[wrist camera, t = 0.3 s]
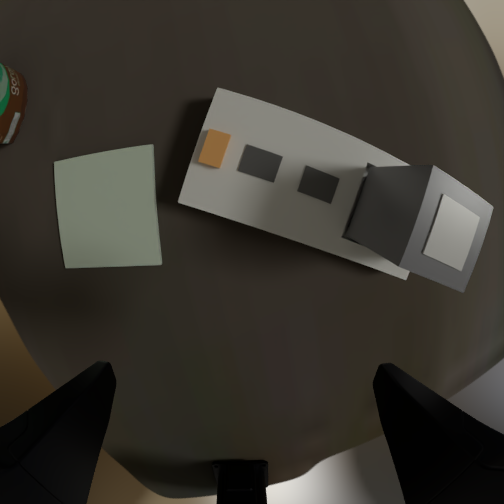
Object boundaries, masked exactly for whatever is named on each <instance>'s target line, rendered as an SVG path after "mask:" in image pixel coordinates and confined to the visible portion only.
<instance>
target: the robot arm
mask: <svg viewBox="0 0 504 504" xmlns="http://www.w3.org/2000/svg"><path fill="white" fill-rule="evenodd" d="M115 389H116V378H115V375H114V372H113V369H112V366H111V364H110V363H109V362H105V361H97V362H96V363H94V364H93V365H92V366H90V367H89V368H87V369H86V370H84V371H83V372H82V373H80V374H79V375H77V376H76V377H74V378H73V379H71V380H70V381H69V382H67V383H66V384H64V385H63V386H61V387H60V388H59V389H57V390H56V391H54V392H53V393H51V394H50V395H49V396H47V397H46V398H44V399H43V400H41V401H40V402H39V403H37V404H36V405H34V406H33V407H31V408H30V409H29V410H28V411H25V412H24V413H23V414H21V415H20V416H18V417H17V418H15V419H14V420H12V421H11V422H9V423H7V424H5V425H4V426H2V427H0V504H86V503H87V499H88V495H89V490H90V487H91V483H92V479H93V475H94V472H95V468H96V464H97V461H98V457H99V453H100V450H101V447H102V443H103V440H104V437H105V433H106V430H107V427H108V423H109V419H110V414H111V409H112V404H113V399H114V394H115ZM373 389H374V394H375V398H376V403H377V407H378V412H379V417H380V421H381V424H382V428H383V431H384V434H385V437H386V440H387V443H388V446H389V449H390V452H391V456H392V459H393V462H394V465H395V469H396V472H397V475H398V479H399V482H400V486H401V489H402V492H403V496H404V500H405V504H504V434H502V433H500V432H498V431H496V430H494V429H492V428H490V427H488V426H487V425H485V424H483V423H481V422H480V421H478V420H476V419H475V418H473V417H472V416H470V415H468V414H467V413H465V412H464V411H462V410H461V409H459V408H458V407H456V406H455V405H453V404H452V403H450V402H449V401H447V400H446V399H444V398H443V397H441V396H440V395H438V394H437V393H435V392H434V391H432V390H431V389H429V388H428V387H426V386H425V385H423V384H422V383H420V382H419V381H417V380H416V379H414V378H413V377H412V376H410V375H409V374H407V373H406V372H404V371H403V370H401V369H400V368H398V367H397V366H395V365H394V364H392V363H384V364H380V365H379V367H378V369H377V372H376V375H375V377H374V380H373ZM212 468H213V472H214V475H215V479H216V483H217V486H218V487H217V504H267V497H266V487H268V462H267V461H247V462H213V463H212Z"/></svg>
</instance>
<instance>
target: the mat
mask: <svg viewBox="0 0 504 504" xmlns="http://www.w3.org/2000/svg"><path fill="white" fill-rule="evenodd" d="M54 175H55V192H56V204H57V214H58V223H59V231H60V238H61V245H62V252H63V258H64V263H65V268H89V267H118V266H145V265H161V264H162V257H161V248H160V238H159V228H158V217H157V204H156V189H155V171H154V146H153V145H152V144H151V145H144V146H137V147H130V148H123V149H117V150H111V151H106V152H100V153H95V154H90V155H85V156H80V157H75V158H70V159H66V160H61V161H57V162H54Z"/></svg>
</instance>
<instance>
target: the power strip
mask: <svg viewBox="0 0 504 504" xmlns="http://www.w3.org/2000/svg"><path fill="white" fill-rule="evenodd" d="M384 166H410V165H408V164H407V163H405V162H403V161H401V160H399V159H397V158H395V157H394V156H392V155H390V154H388V153H386V152H384V151H382V150H380V149H378V148H376V147H374V146H372V145H370V144H368V143H366V142H364V141H362V140H359V139H357V138H355V137H353V136H351V135H349V134H346V133H344V132H342V131H340V130H337V129H335V128H333V127H330V126H328V125H326V124H323V123H321V122H318V121H316V120H313V119H311V118H308V117H306V116H303V115H300V114H298V113H295V112H292V111H290V110H287V109H284V108H281V107H279V106H276V105H273V104H270V103H267V102H264V101H261V100H258V99H255V98H251V97H248V96H245V95H242V94H238V93H235V92H231V91H228V90H224V89H221V88H217V90H216V93H215V95H214V98H213V101H212V103H211V106H210V108H209V111H208V114H207V116H206V119H205V122H204V125H203V127H202V130H201V133H200V136H199V139H198V141H197V144H196V147H195V150H194V153H193V156H192V159H191V162H190V165H189V168H188V171H187V174H186V177H185V181H184V184H183V187H182V190H181V193H180V197H179V200H178V203H181V204H184V205H187V206H190V207H193V208H197V209H200V210H203V211H206V212H209V213H212V214H215V215H219V216H222V217H225V218H228V219H231V220H234V221H237V222H240V223H243V224H246V225H249V226H252V227H255V228H258V229H261V230H264V231H267V232H270V233H273V234H276V235H279V236H282V237H285V238H288V239H291V240H294V241H297V242H300V243H303V244H306V245H309V246H312V247H315V248H317V249H320V250H323V251H326V252H329V253H332V254H335V255H338V256H340V257H343V258H346V259H349V260H352V261H355V262H357V263H360V264H363V265H366V266H369V267H371V268H374V269H377V270H380V271H382V272H385V273H388V274H391V275H393V276H396V277H399V278H402V279H404V280H406V279H407V277H408V274H409V272H410V271H408V270H405V269H403V268H400V267H398V266H396V265H395V264H393V263H392V262H390V261H388V260H387V259H385V258H383V257H382V256H380V255H379V254H377V253H375V252H374V251H372V250H370V249H369V248H367V247H365V246H363V245H362V244H360V243H358V242H357V241H355V240H353V239H352V238H350V237H348V236H346V234H347V232H348V229H349V228H348V225H349V222H350V219H351V217H352V214H353V211H354V208H355V206H356V203H357V200H358V197H359V194H360V191H361V188H362V185H363V183H364V180H365V177H367V175H368V172H369V169H370V167H384Z"/></svg>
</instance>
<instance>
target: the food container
mask: <svg viewBox="0 0 504 504" xmlns="http://www.w3.org/2000/svg"><path fill="white" fill-rule="evenodd" d="M27 89H28V88H27V84H26V80H25V78H24V77H23V75H22V74H21V73H19V72H17V71H15V70H13V69H11V68H9V67H7V66H5V65H3V64H2V63H0V144H3V143H13V142H14V140H15V138H16V136H17V134H18V133H19V130H20V127H21V124H22V122H23V119H24V116H25V111H26V106H27Z"/></svg>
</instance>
